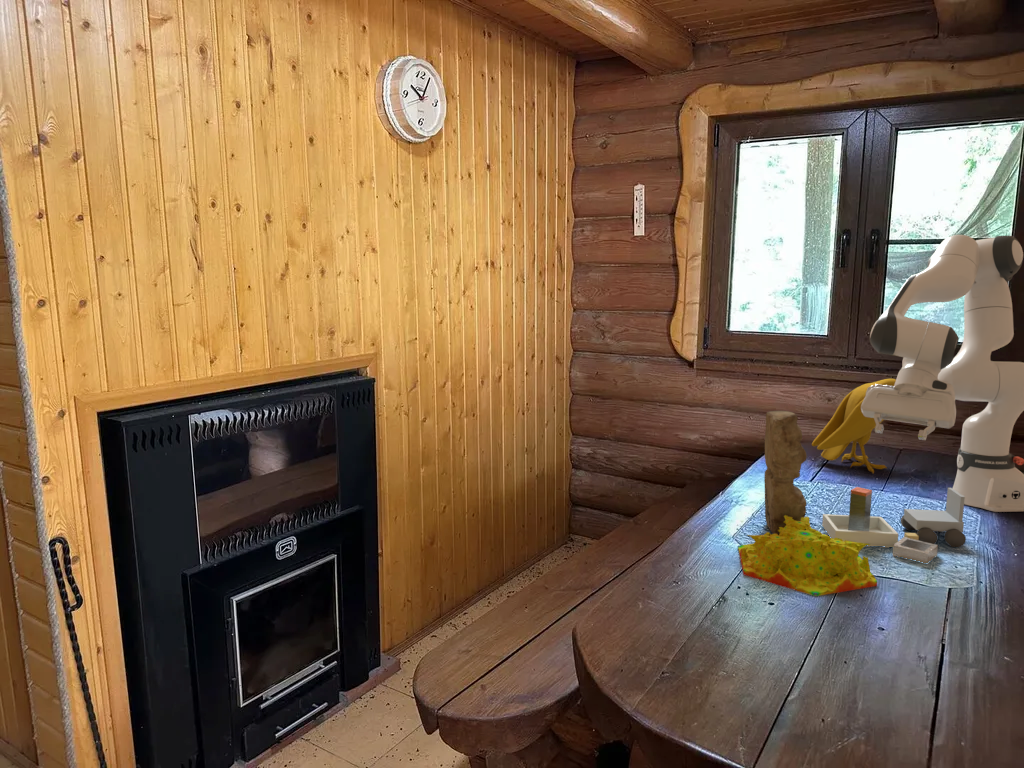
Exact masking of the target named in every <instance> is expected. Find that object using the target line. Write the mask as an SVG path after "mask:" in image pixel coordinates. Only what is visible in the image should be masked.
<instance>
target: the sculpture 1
mask: <svg viewBox="0 0 1024 768" xmlns="http://www.w3.org/2000/svg"><path fill="white" fill-rule="evenodd" d="M798 420H799V418H798V416H797V414H796V413H794V412H792V411H788V410H770V411H766V413H765V430H764V461H765V466H766V470H765V471H764V506H765V508H764V516H765V523H766V526H767V527H768V529H769V531H770V532H771V533H772V534H778V535H779V534H780V532H779V531H778V530H779V529H780V528H779V527H783V528H784V527H785V526H786V524H785V523H784V521H785V518H784V516H785V515H786V516H788V517H793V518H792V519H794V520H795V521H801V517H804V516H805V517H806V513H807V501H806V497H805V496H804V495H803V490H801V489H800V488H799V487H798V486H796V485H794V480H795V479H797V478H798V479H799V478H800V477H801V469H802V464H803V463H804V462H806V461H807V452H806V450H805V449H804V447H803V446H802V443H801V441H802V440H803V431H802V429H801V427H800V425H799V424H798Z"/></svg>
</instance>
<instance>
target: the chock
mask: <svg viewBox="0 0 1024 768" xmlns="http://www.w3.org/2000/svg"><path fill="white" fill-rule="evenodd" d="M916 533H917V532H904V533H903V534H904V535H903V537H906V538H911V539H915V540H919V536H918V535H917V534H916Z"/></svg>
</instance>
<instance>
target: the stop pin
mask: <svg viewBox="0 0 1024 768" xmlns="http://www.w3.org/2000/svg"><path fill="white" fill-rule="evenodd" d="M872 495H873V489H869V488H868V489H867V488H864V487H859V486H856V487H854V488H852V489H851V490H850V500H849V511H848V513H849V514H848V515H849V526H848V530H852V531H869V526H870V516H871V511H872V509H871V508H872Z"/></svg>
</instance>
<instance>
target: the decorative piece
mask: <svg viewBox="0 0 1024 768" xmlns="http://www.w3.org/2000/svg"><path fill="white" fill-rule="evenodd" d="M784 518H785V521H784V523H785V524H786V526H785V527H784V528H783V527H779V528H780V529H779V530H778V531H779V532H780V534H779V535H778V534H773V533H772V534H771V533H770V532H769V531H766V532H765V533H764V534H746V536H748V537H750V538H751V539H752V540H753V541H754V542H753V543H748V544H747V543H746V544H742V545H738V546H737V551H738V553H739V559H740V564H741V568H742V569H741V570H742V574H743V576H746V577H750V578H754V579H756V580H760V581H763V582H767V583H770V584H774V585H777V586H780V587H784V588H787V589H790V590H794V591H797V592H800V593H804V594H807V595H811V596H813V597H818V596H825V595H831V594H837V593H843V592H849V591H856V590H860V589H865V588H872V587H877V586H878V580H877V579H876V577H875V576H874V574H873V573H872V572H871V568H870V567H871V565H870V561H869V557H868V556H864V555H862V556H860V555H859V554H860V551H861V550H863V548H864V547H867V546H866V545H870V544H866V543H858V542H852V541H847V540H845V541H844V542H843V540H842V539H839V538H834V539H833V538H830V536H828V534H827V533H826V534H825V533H822V532H821V531H820V530H818V529H815V528H812V527H811V523H810V521H811V519H810V516H807V515H805V516H804V517H801V521H795V520H794V519H792V518H793V517H788V516H786V515H785V516H784Z"/></svg>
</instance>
